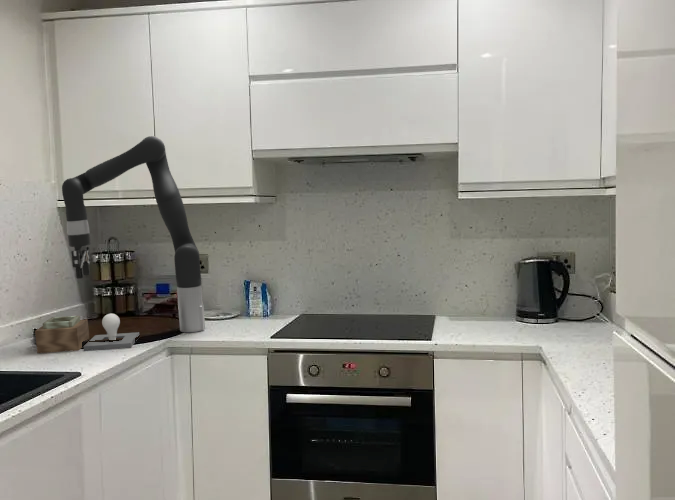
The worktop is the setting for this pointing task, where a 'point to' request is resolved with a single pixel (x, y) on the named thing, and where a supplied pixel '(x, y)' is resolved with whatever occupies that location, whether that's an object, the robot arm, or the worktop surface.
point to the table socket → (124, 343)
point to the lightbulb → (111, 325)
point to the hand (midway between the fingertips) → (83, 276)
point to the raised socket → (62, 334)
